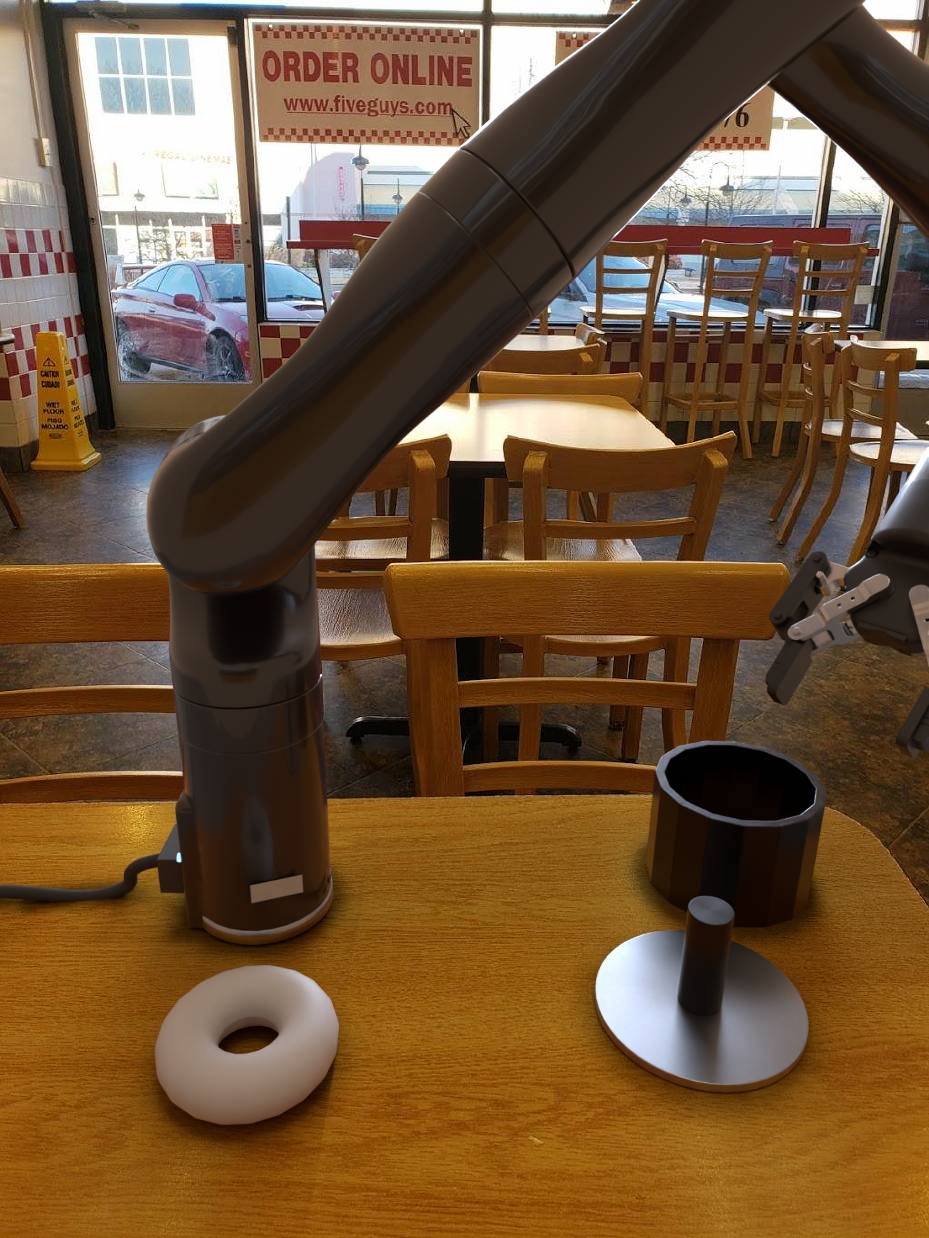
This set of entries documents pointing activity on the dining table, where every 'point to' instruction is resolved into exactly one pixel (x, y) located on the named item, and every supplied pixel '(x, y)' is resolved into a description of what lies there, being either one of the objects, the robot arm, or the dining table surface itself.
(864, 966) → the dining table surface
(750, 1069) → the lid
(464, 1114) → the dining table surface
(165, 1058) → the donut
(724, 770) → the pot
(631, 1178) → the dining table surface
